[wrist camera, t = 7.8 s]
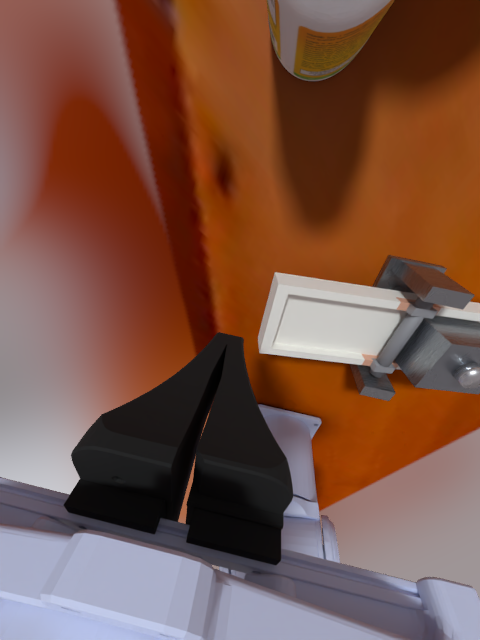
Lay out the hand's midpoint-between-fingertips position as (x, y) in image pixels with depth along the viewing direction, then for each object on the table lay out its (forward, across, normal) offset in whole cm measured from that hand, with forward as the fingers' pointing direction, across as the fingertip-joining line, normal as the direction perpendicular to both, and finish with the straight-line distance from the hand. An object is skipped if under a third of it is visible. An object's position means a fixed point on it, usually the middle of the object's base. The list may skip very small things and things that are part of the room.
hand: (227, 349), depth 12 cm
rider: (+8, -15, +1) cm, 17 cm away
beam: (+8, -12, +1) cm, 14 cm away
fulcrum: (+10, -12, +1) cm, 16 cm away
